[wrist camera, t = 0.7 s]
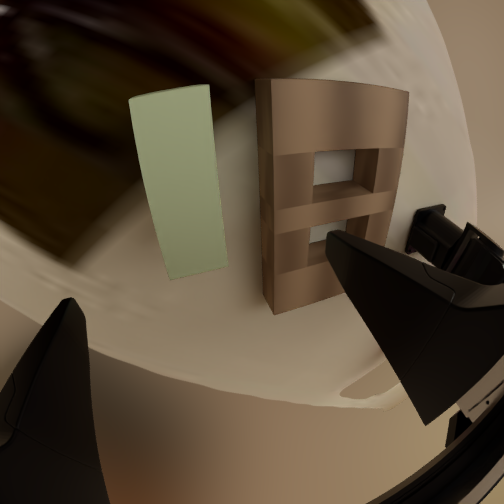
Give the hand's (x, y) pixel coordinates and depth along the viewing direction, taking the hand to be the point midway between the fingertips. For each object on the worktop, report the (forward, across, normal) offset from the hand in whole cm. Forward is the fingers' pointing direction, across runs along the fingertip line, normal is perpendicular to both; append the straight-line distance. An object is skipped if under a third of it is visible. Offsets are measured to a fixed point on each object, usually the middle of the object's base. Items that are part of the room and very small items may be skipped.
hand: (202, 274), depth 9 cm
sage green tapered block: (+12, 0, 0) cm, 12 cm away
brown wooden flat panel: (+12, -12, +5) cm, 18 cm away
